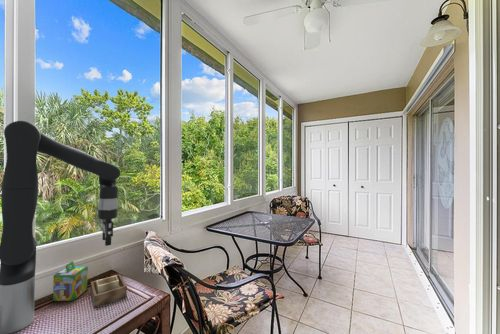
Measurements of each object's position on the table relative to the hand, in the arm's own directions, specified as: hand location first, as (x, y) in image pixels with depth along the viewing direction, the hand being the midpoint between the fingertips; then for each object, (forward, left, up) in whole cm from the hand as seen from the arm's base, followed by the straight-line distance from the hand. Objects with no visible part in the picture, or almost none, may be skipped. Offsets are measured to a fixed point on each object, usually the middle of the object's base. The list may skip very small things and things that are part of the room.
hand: (106, 242), depth 101 cm
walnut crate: (+1, -2, -24) cm, 24 cm away
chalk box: (-12, +8, -24) cm, 28 cm away
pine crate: (+1, -2, -23) cm, 23 cm away
